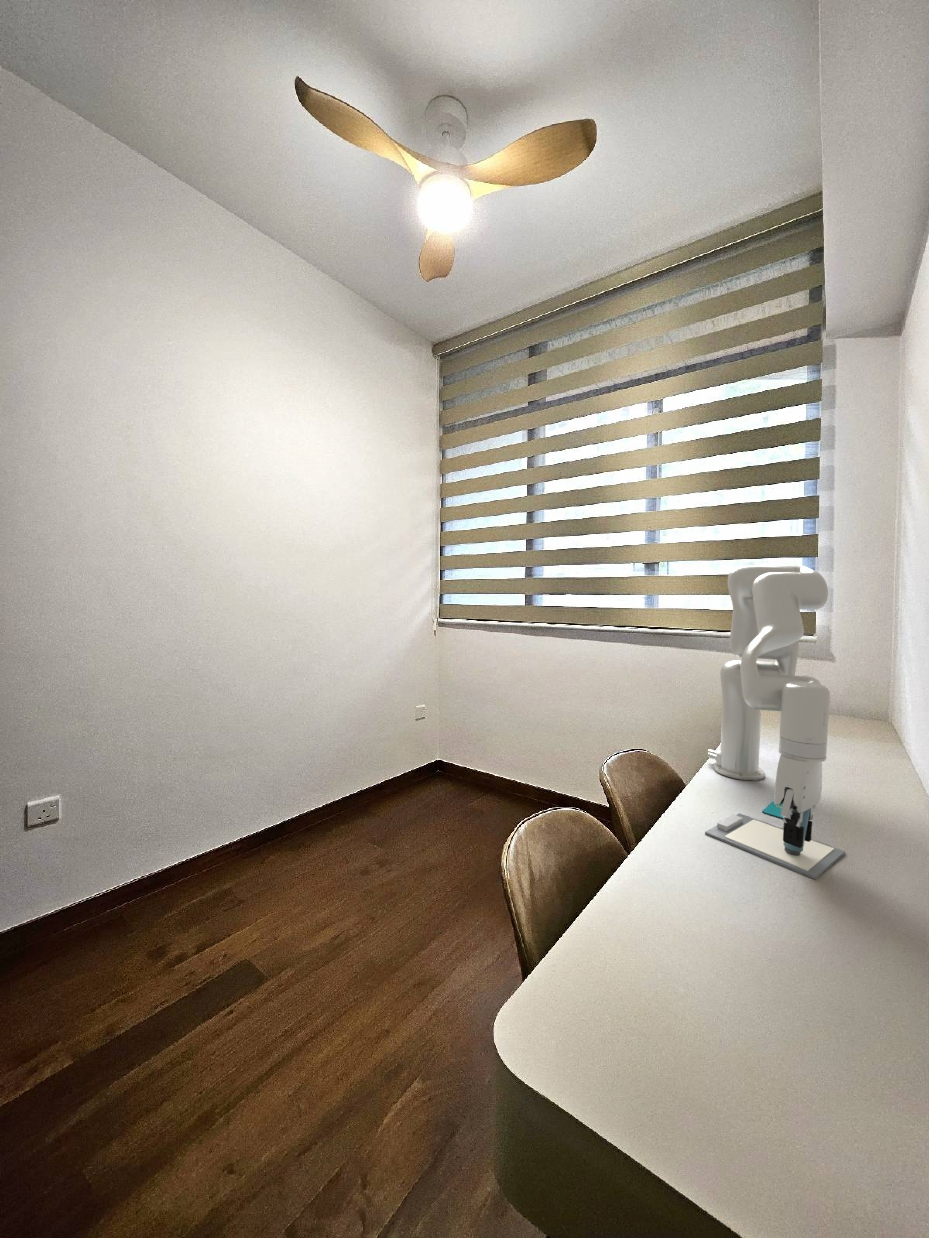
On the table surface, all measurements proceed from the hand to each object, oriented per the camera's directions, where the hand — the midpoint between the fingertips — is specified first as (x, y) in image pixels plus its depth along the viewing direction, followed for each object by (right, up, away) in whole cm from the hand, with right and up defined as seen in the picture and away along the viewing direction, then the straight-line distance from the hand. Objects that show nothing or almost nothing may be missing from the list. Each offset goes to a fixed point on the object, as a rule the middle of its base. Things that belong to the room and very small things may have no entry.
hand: (796, 840), depth 96 cm
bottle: (0, -2, +1) cm, 3 cm away
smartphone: (+13, -3, +22) cm, 25 cm away
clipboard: (-1, -3, +5) cm, 6 cm away
